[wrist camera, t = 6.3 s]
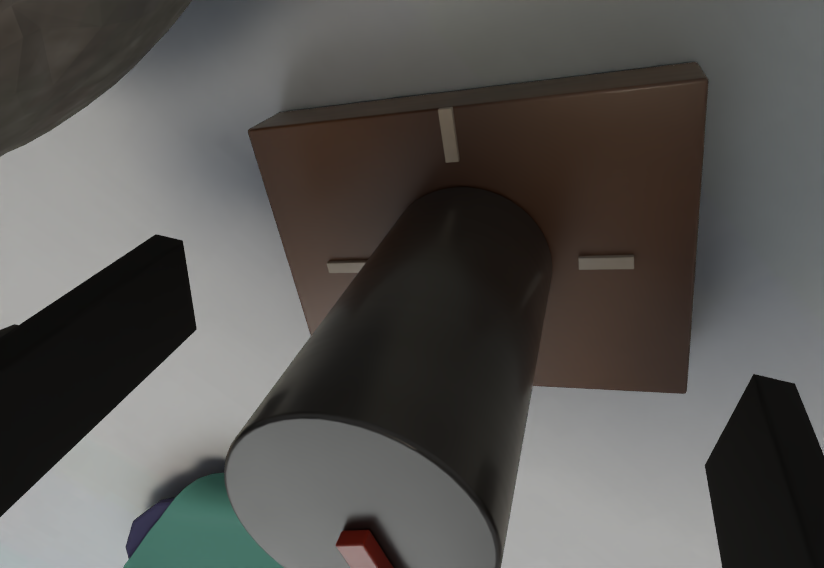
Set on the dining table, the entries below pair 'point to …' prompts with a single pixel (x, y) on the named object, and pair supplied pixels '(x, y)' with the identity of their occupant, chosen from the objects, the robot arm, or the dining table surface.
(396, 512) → the dial
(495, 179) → the panel
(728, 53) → the dining table surface
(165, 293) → the robot arm
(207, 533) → the cutlery set
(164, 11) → the bowl
